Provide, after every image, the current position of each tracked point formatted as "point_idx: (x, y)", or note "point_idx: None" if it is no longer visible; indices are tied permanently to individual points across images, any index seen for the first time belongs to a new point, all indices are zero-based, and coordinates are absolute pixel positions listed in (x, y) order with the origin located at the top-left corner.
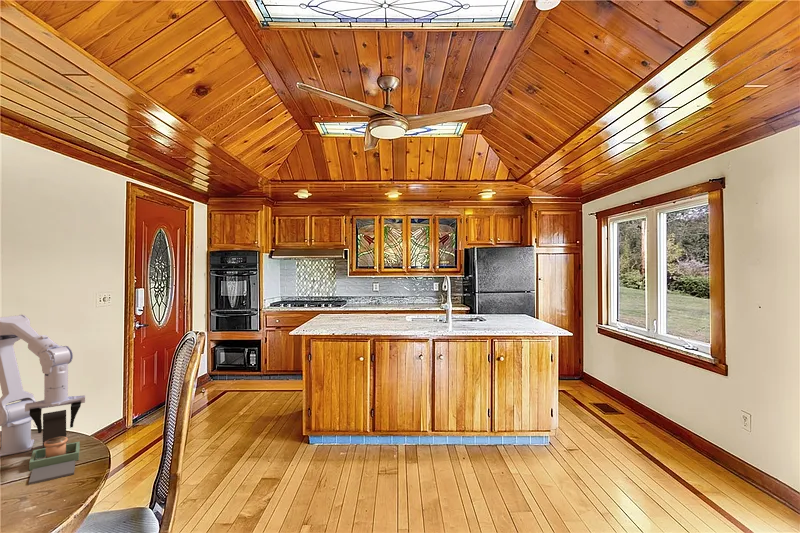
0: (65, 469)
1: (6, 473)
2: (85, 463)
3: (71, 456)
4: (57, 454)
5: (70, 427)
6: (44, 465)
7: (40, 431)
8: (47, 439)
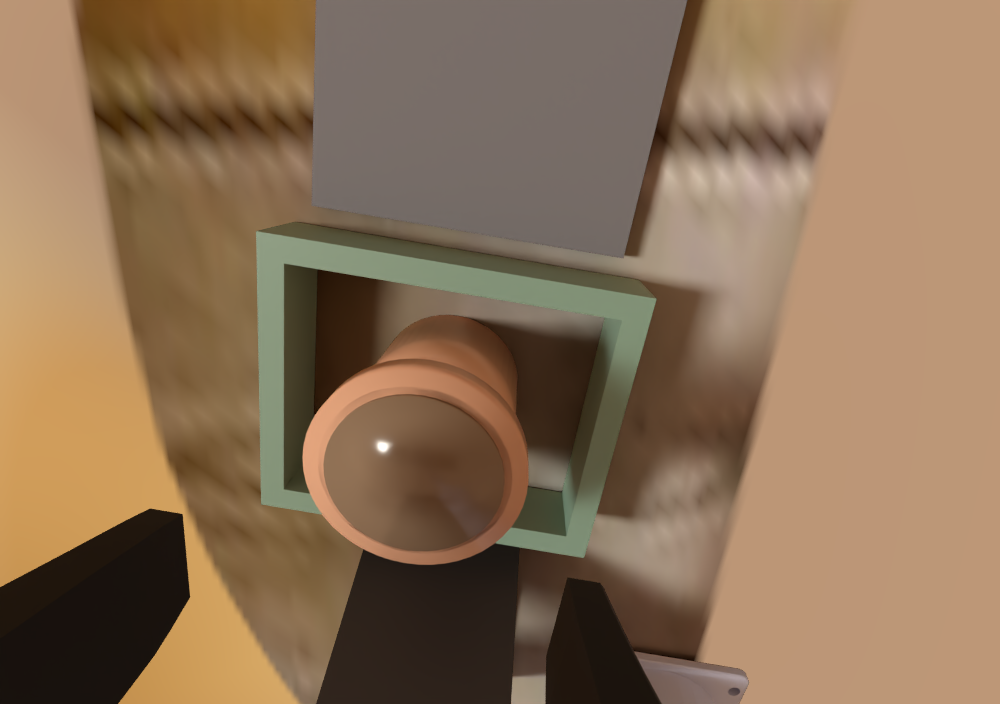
0: (391, 12)
1: (772, 356)
2: (239, 100)
3: (327, 237)
4: (430, 335)
5: (176, 515)
6: (537, 268)
7: (579, 594)
8: (479, 638)
